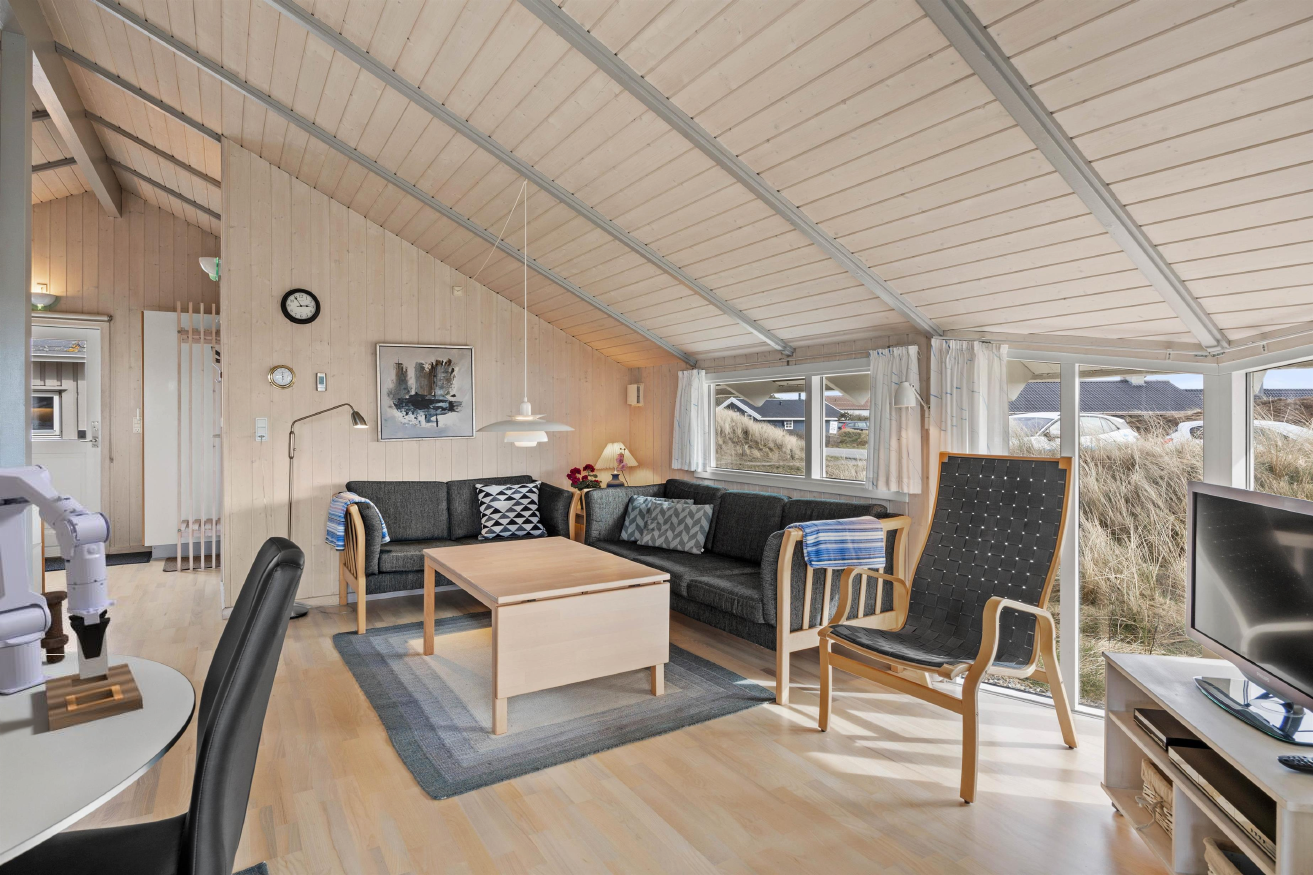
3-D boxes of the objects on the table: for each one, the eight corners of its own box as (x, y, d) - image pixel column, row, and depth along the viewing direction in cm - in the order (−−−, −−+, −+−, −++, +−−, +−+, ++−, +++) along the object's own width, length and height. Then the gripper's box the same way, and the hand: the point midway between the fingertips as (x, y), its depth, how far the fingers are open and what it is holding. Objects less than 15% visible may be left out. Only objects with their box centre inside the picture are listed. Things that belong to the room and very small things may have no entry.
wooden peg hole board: (45, 690, 141) (45, 679, 141) (127, 672, 149) (127, 661, 149) (50, 731, 123) (49, 718, 123) (143, 707, 132) (142, 696, 131)
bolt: (78, 657, 159) (73, 590, 158) (57, 665, 154) (52, 596, 153) (54, 657, 160) (49, 590, 159) (32, 665, 155) (27, 596, 154)
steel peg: (79, 673, 132) (76, 630, 131) (106, 667, 134) (103, 625, 134) (80, 679, 129) (77, 635, 128) (108, 673, 131) (105, 629, 131)
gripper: (118, 583, 128) (123, 658, 128) (110, 570, 138) (115, 639, 139) (67, 591, 123) (72, 669, 124) (63, 576, 134) (67, 648, 135)
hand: (91, 654), depth 131 cm, fingers closed on steel peg, 4 cm apart
